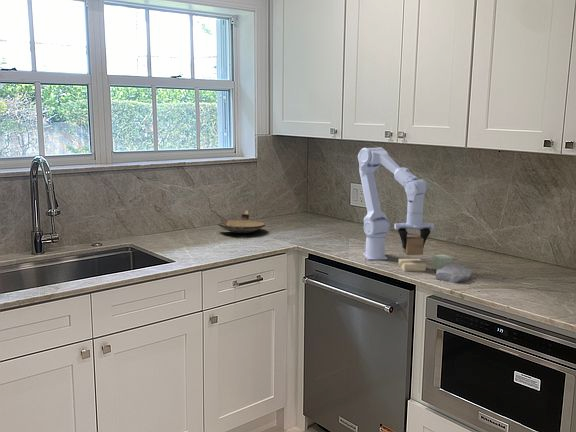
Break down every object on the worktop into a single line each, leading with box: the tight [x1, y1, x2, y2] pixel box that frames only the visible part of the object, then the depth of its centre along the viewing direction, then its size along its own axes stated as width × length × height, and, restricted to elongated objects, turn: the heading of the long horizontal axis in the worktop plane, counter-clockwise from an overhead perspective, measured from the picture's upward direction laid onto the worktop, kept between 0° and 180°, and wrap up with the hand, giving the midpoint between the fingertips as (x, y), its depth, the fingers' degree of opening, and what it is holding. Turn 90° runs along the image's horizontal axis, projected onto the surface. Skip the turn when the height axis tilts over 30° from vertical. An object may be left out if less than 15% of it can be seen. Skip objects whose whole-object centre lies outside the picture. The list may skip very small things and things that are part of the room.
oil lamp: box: [217, 210, 266, 234], centre depth 273 cm, size 22×30×8 cm
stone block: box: [435, 263, 473, 284], centre depth 201 cm, size 12×5×10 cm
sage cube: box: [432, 254, 453, 271], centre depth 212 cm, size 5×5×5 cm
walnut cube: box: [402, 234, 424, 256], centre depth 212 cm, size 6×6×6 cm
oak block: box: [397, 258, 427, 272], centre depth 213 cm, size 8×8×3 cm
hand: (412, 247), depth 212 cm, fingers closed on walnut cube, 6 cm apart
